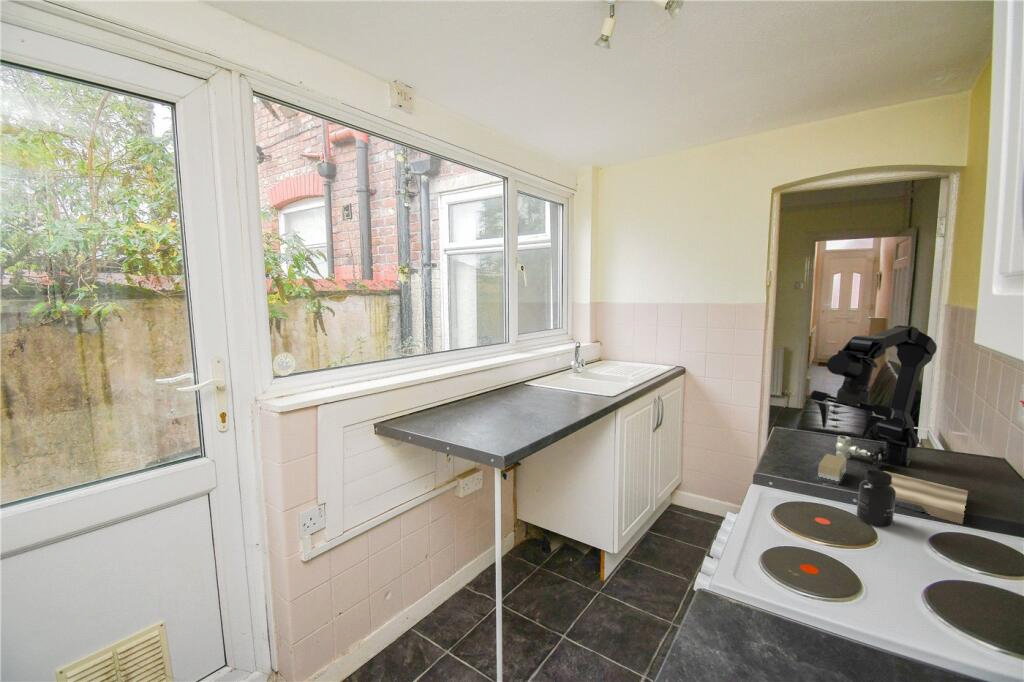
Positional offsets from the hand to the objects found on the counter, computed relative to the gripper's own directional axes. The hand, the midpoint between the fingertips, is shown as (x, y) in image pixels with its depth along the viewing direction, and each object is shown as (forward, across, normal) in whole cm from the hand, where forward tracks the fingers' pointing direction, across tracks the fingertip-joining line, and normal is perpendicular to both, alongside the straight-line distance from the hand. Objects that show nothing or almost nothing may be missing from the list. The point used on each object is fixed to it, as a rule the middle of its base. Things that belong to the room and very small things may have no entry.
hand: (842, 433), depth 126 cm
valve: (+9, +2, +22) cm, 24 cm away
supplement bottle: (+18, +12, -15) cm, 27 cm away
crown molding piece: (+12, +18, +4) cm, 22 cm away
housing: (+14, 0, +4) cm, 14 cm away
